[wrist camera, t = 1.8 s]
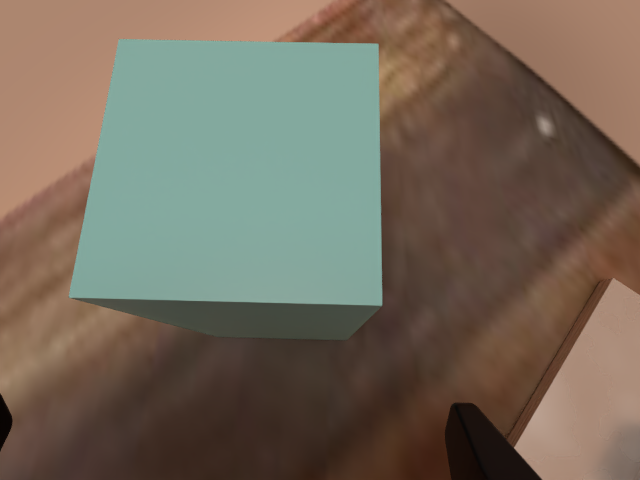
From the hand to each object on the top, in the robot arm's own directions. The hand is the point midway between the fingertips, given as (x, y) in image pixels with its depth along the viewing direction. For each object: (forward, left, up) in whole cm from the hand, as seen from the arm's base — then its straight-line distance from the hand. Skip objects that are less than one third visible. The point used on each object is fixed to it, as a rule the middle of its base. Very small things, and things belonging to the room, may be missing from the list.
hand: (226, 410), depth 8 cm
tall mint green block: (+2, +5, -11) cm, 12 cm away
